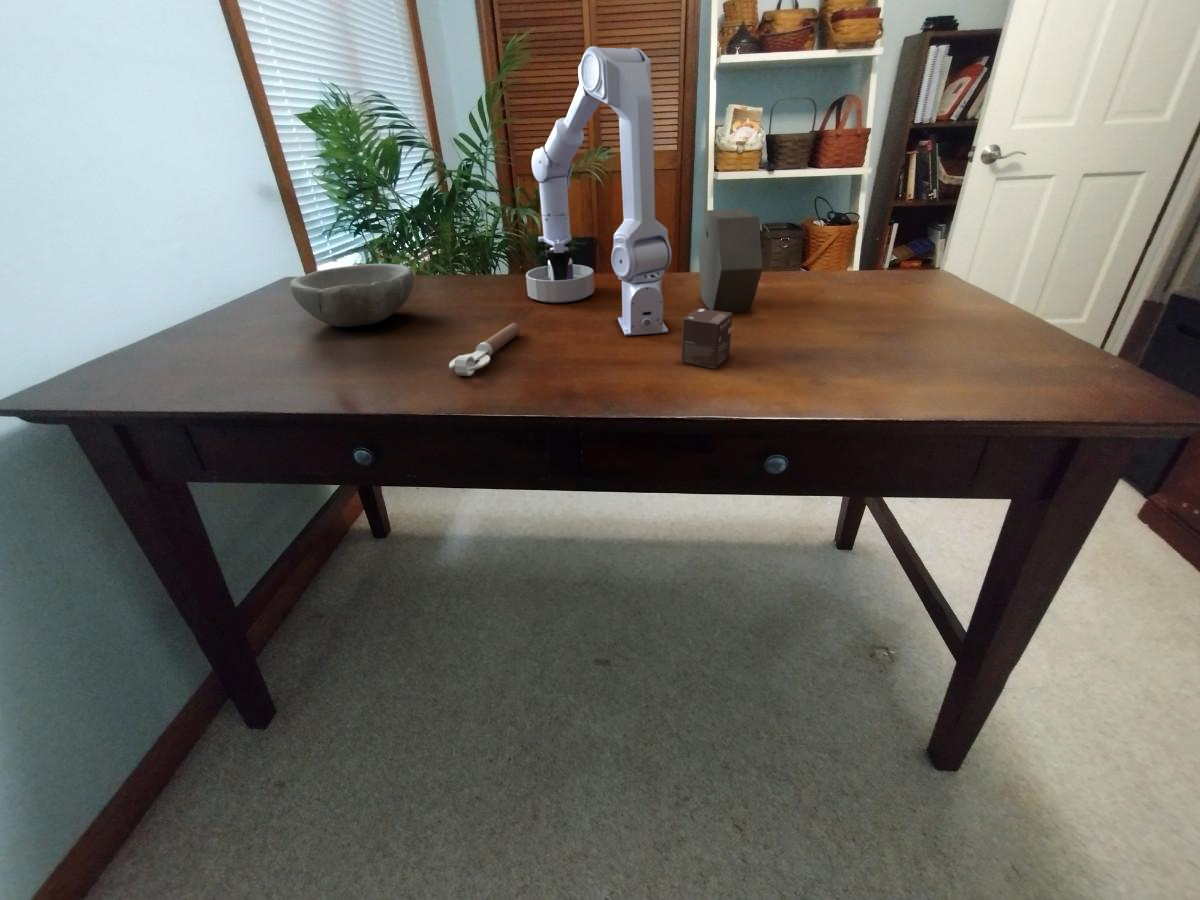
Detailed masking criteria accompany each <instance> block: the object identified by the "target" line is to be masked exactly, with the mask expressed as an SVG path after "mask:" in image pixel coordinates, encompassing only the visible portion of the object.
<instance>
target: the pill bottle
mask: <svg viewBox="0 0 1200 900" xmlns="http://www.w3.org/2000/svg"><path fill="white" fill-rule="evenodd" d="M550 250H554V247H552V248H550ZM564 250H569V249H568V247H565V246H564ZM572 259H573V258H571V257H570V260H569V264H568V270H567V280H569V279H573V265H574V264H573V260H572ZM547 266H548V271H549V280H552V281H555V278H554V274H553V270H552V266H551V263H550V261H549V259H548V261H547Z"/></svg>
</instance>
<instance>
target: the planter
mask: <svg viewBox="0 0 1200 900" xmlns="http://www.w3.org/2000/svg"><path fill="white" fill-rule="evenodd" d="M703 218H704V219H703V224H702V231H701V238H700V243H699V250H698V265H699V266H698V267H699V280H700V282H699V283H700V295H701V300H702V302H703V303H704V305H705V306H706V307H707V310H714V311H722V312H730V313H747V312H748V313H750V312H751V311H752V309H753V306H754V301H755V299H756V294H757V291H758V287H759V283H760V279H761V276H762V272H763V256H762V243H761V242H762V241H761V240H762V239H761V227H760V226H761V225H760V216H759V215H757V214H755V213H753V212H751V211H748V210H747V209H746V208H731V209H730V208H729V209H727V208H726V209H713V210H712V209H707V210H705V211H704V217H703Z"/></svg>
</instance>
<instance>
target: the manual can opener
mask: <svg viewBox="0 0 1200 900" xmlns="http://www.w3.org/2000/svg"><path fill="white" fill-rule="evenodd" d="M520 333H521V327H520V325H519V324H518V323H516V322H511V323H510V324H509V325H507V326H506V327H504V328H503V329H501V330H500V331H498V332H497V333H495V334H493V335H492V336H491V337H489V338H488V339H486V340H485V341H483V342H480V343H479V344H477V345H476V346H475V351H473V352H472V353H466V354H462V355H457V356H456V357H455V358H453V359H452V360H451V361H450V362H449V364H448V367H449V370H452V369H453V368H454V372H455V374H456V376H463V377H471V376H472V375H474V374H475V371H476V370H479V369H481V368H483V367H485V366H487V365H488V364H489V363H490V362H491V356H492V355H493V354H494V353H495V352H497V351H499V349H500V348H502V347H503V346H505V345H507V343H509V342H510V341H511V340H513V339H514V338H516V337H517V336H518V335H520ZM476 361H478V362H477V363H476Z"/></svg>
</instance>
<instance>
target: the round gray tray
mask: <svg viewBox="0 0 1200 900" xmlns="http://www.w3.org/2000/svg"><path fill="white" fill-rule="evenodd" d="M594 271H595V270H594V269H593V268H591V267H589V266H587V265H582V264H573V279H569V280H557V281H552V280H549V271H548V265H545V266H539V267H535V268H532V269H529V270H528V271H527V272H526V273H525V280H526V290H527V296H528V297H529V298H530V299H533V300H535V301H538V302H541V303H547V304H565V303H572V302H578V301H580V300H584V299H585V298H588V297H589V296H591V295H593V294H594V293H595V272H594Z"/></svg>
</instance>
